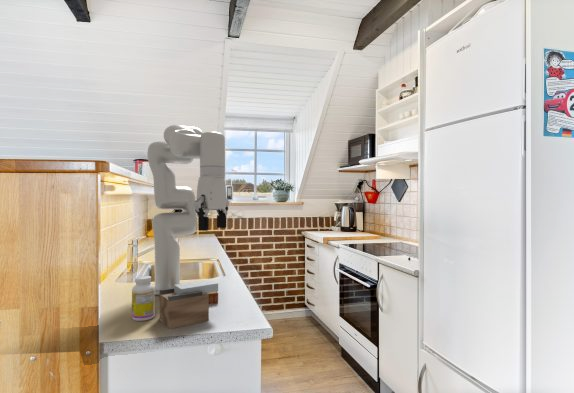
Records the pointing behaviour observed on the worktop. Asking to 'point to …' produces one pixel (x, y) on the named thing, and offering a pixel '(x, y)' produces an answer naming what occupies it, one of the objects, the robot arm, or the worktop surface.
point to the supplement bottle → (143, 299)
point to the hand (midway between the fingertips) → (212, 229)
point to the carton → (213, 297)
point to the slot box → (183, 308)
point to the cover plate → (196, 287)
